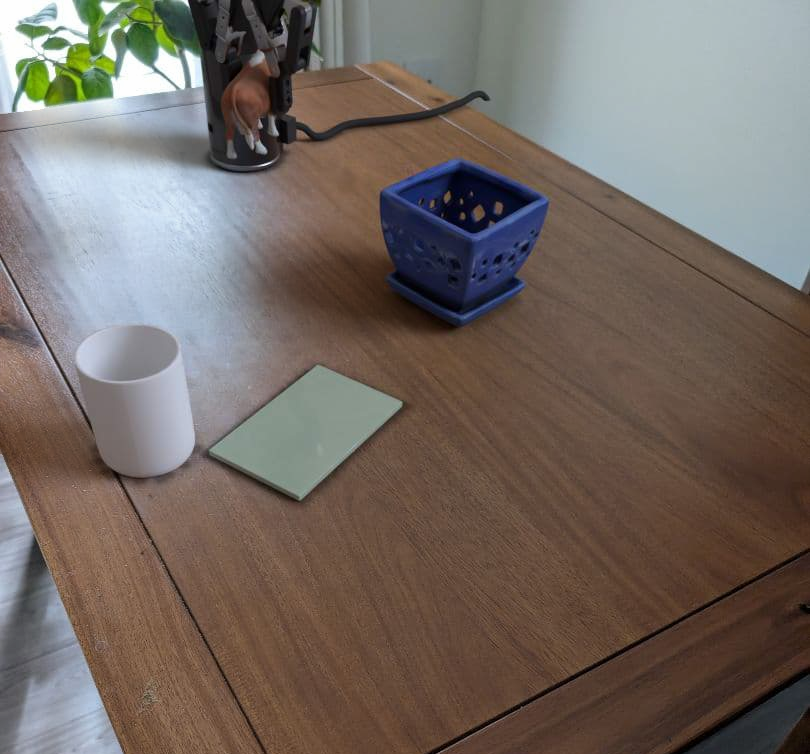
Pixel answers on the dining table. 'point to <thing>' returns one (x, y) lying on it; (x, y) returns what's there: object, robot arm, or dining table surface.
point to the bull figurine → (248, 104)
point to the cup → (136, 398)
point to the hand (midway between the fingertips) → (258, 106)
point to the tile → (306, 431)
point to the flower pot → (459, 238)
